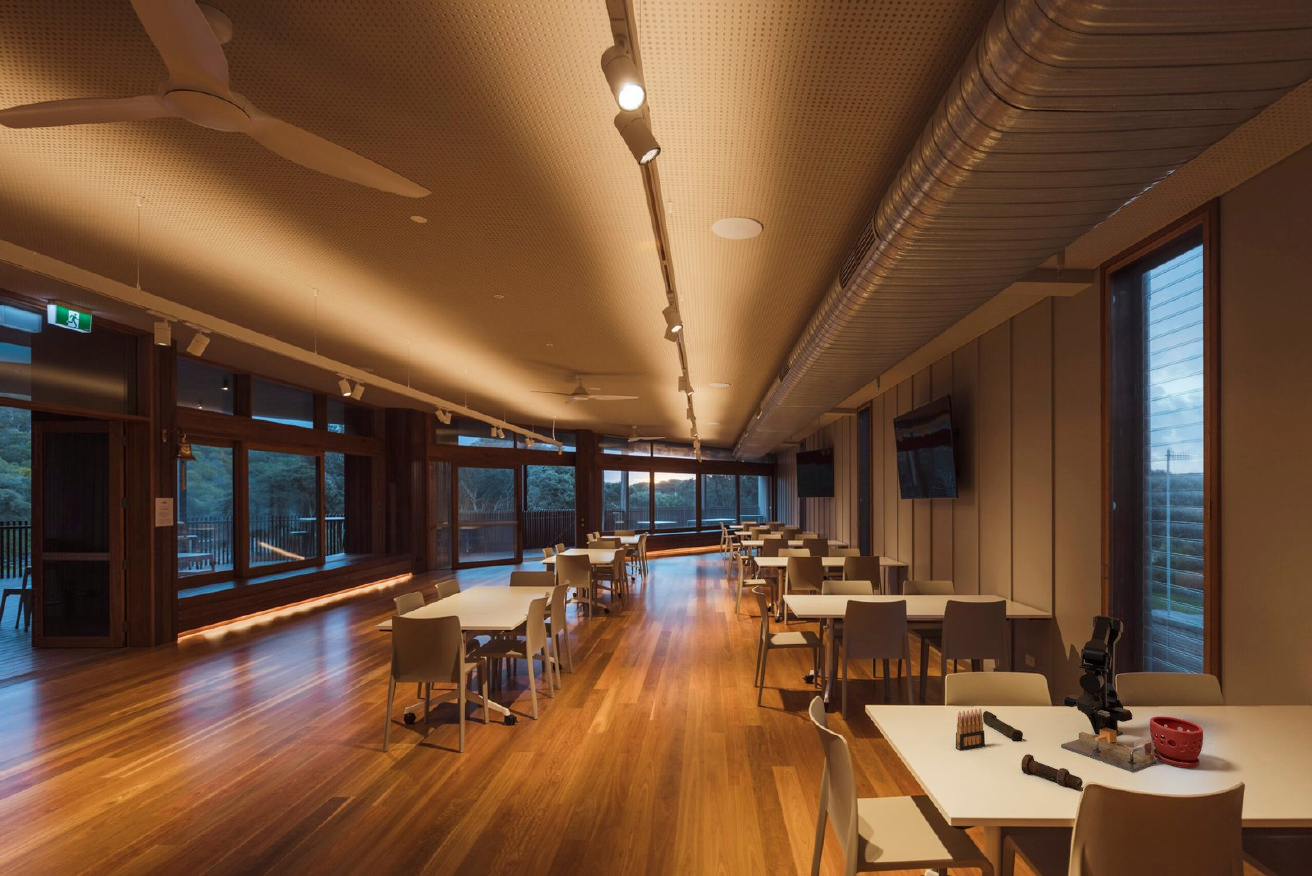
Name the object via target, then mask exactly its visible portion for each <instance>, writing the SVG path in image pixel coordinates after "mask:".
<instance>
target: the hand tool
mask: <svg viewBox="0 0 1312 876" xmlns="http://www.w3.org/2000/svg"><path fill="white" fill-rule="evenodd" d="M982 720H983V724H984V725H986V726H988V727H989V728H993V729H995V730H997V731H999V733H1001V734H1003V735H1006V737H1008V738H1010V739H1011V741H1012V742H1019V743H1020V742H1022V740H1023V736H1024V732H1023V731H1022V730H1020V729H1016V728H1015V727H1013V726H1012V725H1010V724H1007V723H1006V722H1004V721H1002V720H1001V719H998V718H997V715H996V714H994V713H993V712H990V711H988V710H985V711H983V712H982Z"/></svg>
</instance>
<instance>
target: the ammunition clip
mask: <svg viewBox="0 0 1312 876" xmlns="http://www.w3.org/2000/svg"><path fill="white" fill-rule="evenodd" d="M985 739H986V738H985V730H984V721H983V711H982V709H981V708H979V709H977V708H975V710H973V709H971V710H970V711H969V709H968V710H967V711H966V712H965V710H963V711H962V713H961V711H958V714H957V723H956V732H955V749H956V750H957V751H959V752H962V751H967V750H973V749H978V748H979V749H980V748H985V747H986V741H985Z"/></svg>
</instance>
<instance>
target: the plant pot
mask: <svg viewBox="0 0 1312 876" xmlns="http://www.w3.org/2000/svg"><path fill="white" fill-rule="evenodd" d="M1166 726H1167V727H1166ZM1179 728H1181V729H1182V730H1179ZM1149 733H1150V737H1151V741H1152V742H1151V743H1152V745H1153V746H1154V748H1153V750H1152V754H1154V758H1157V759H1156V760H1159V761H1160V762H1162V763H1165V764H1167V765H1170V766H1174V767H1177V768H1186V769H1193V768H1196V767H1198V766H1199V765H1200V763H1201V761H1200V759H1199V756H1200V755H1201V752H1202V751H1203V745H1204V730H1203V728H1202V727H1201V726H1200V725H1199V724H1197V723H1194V722H1191V721H1189V720H1186V719H1181V718H1178V717H1173V716H1165V715H1164V716H1161V715H1158V716H1152V717H1150V719H1149Z"/></svg>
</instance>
